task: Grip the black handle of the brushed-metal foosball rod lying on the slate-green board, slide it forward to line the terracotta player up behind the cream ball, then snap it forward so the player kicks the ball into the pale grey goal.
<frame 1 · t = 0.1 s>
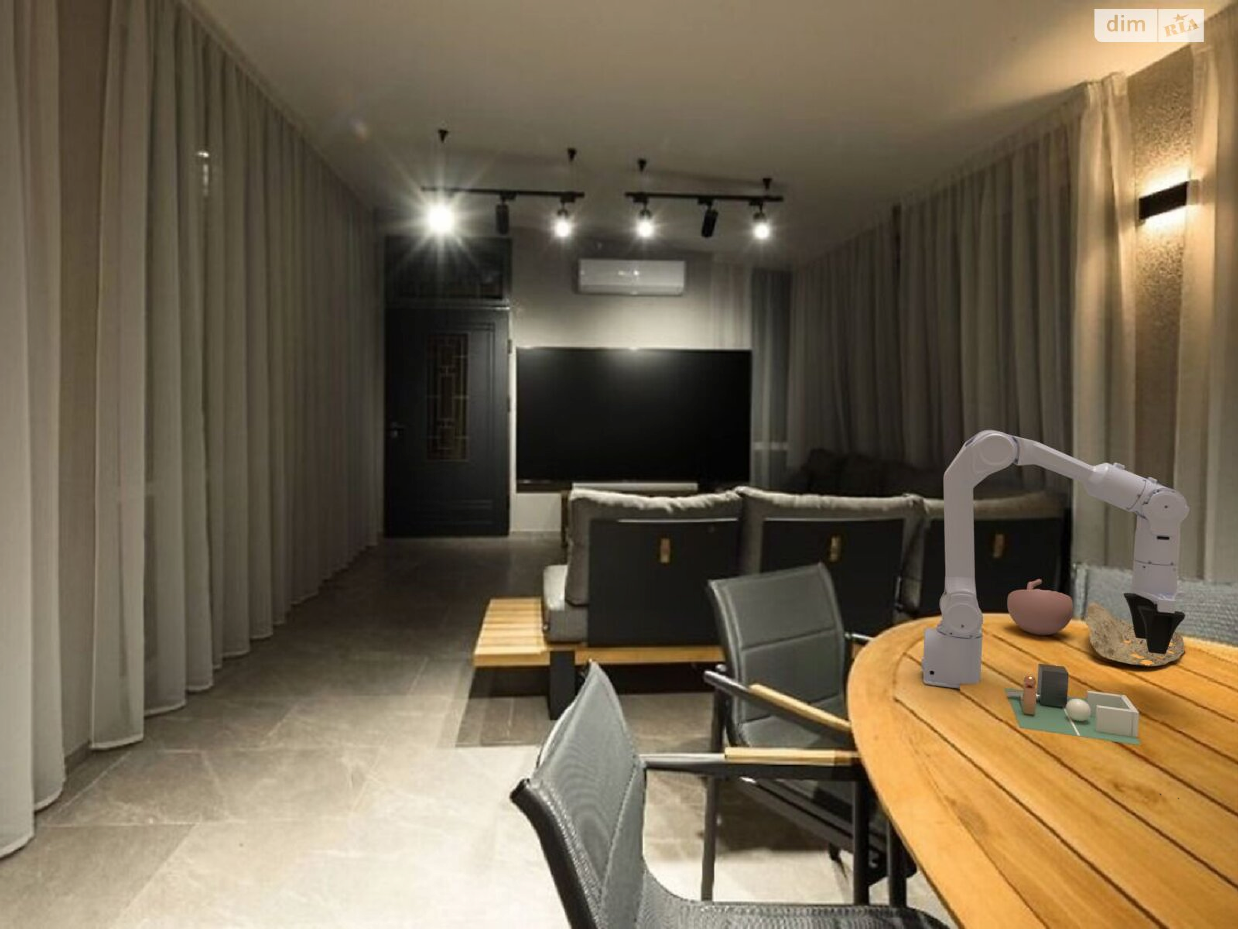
hand: (1149, 645, 115), 10 cm above the table, fingers open, 7 cm apart
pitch: (1066, 720, 110), on the table
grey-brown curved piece: (1132, 651, 143), on the table
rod: (1041, 688, 112), point 4 cm above the table, slide at 0.0 cm
goal: (1112, 725, 107), resting on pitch
ball: (1078, 710, 108), point 3 cm above the table, touching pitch
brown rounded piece: (1038, 634, 153), on the table
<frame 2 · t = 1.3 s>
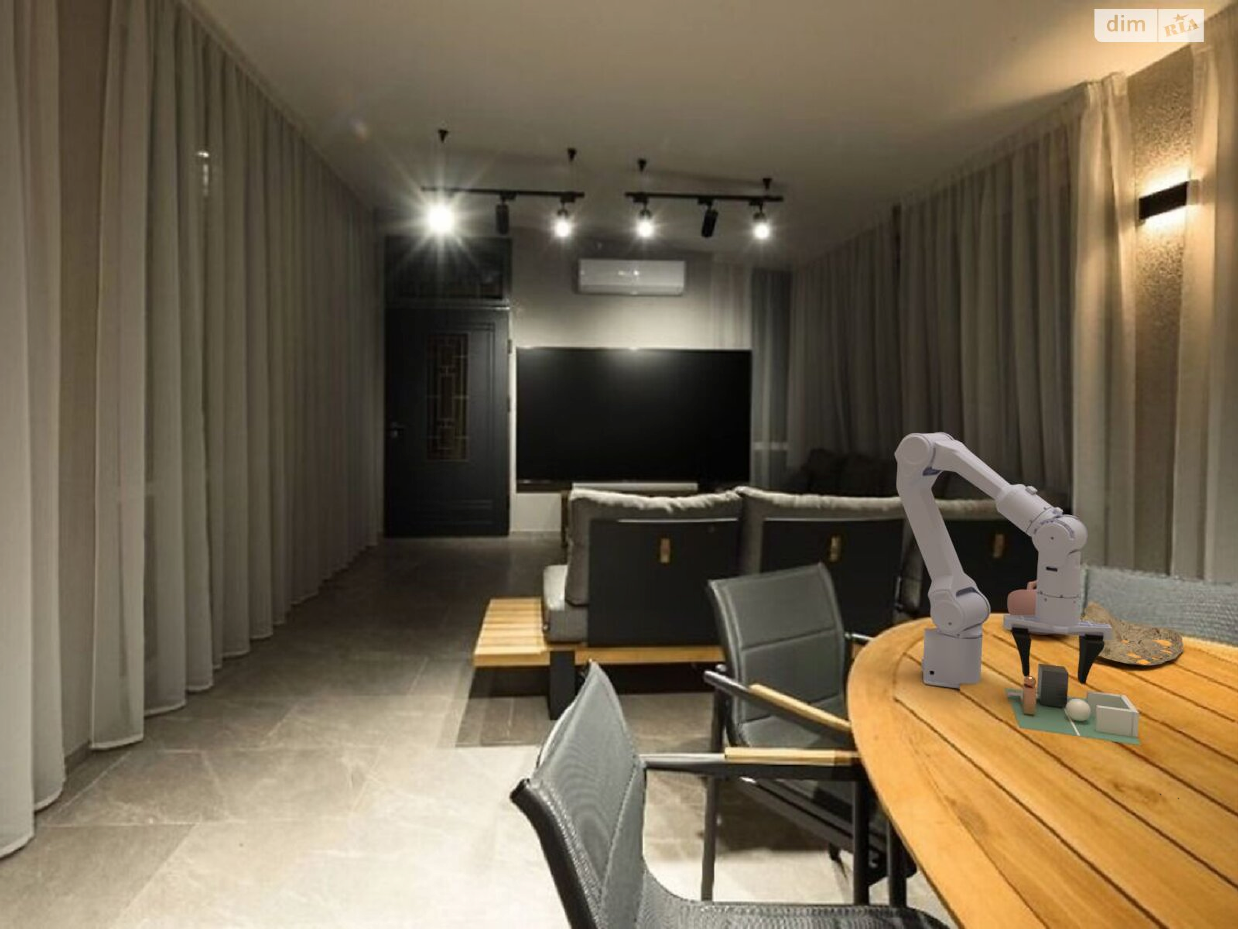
hand: (1053, 678, 114), 5 cm above the table, fingers open, 7 cm apart
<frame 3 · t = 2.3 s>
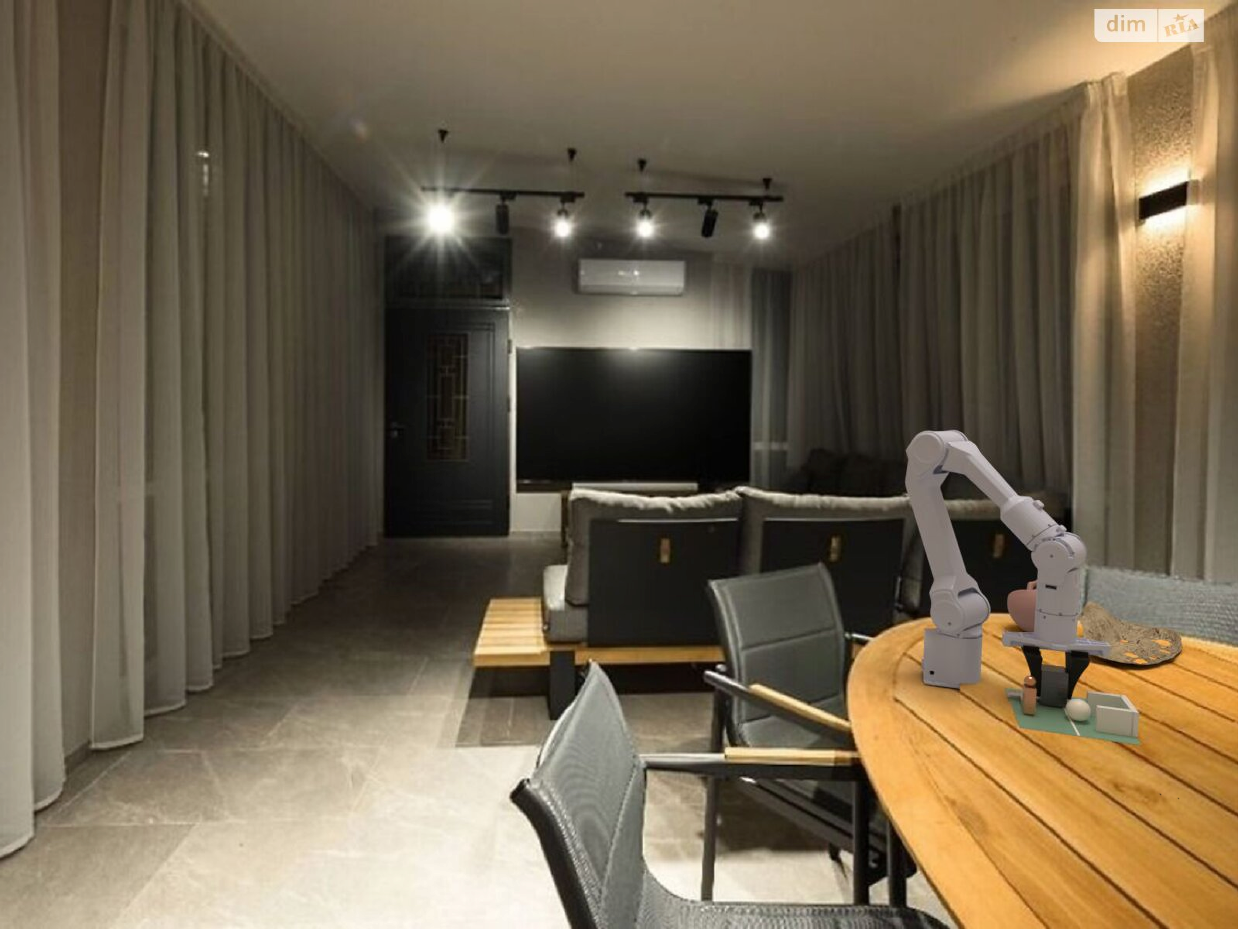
hand: (1051, 695, 114), 2 cm above the table, fingers closed on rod, 4 cm apart
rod: (1041, 688, 112), point 4 cm above the table, slide at 0.0 cm, touching gripper
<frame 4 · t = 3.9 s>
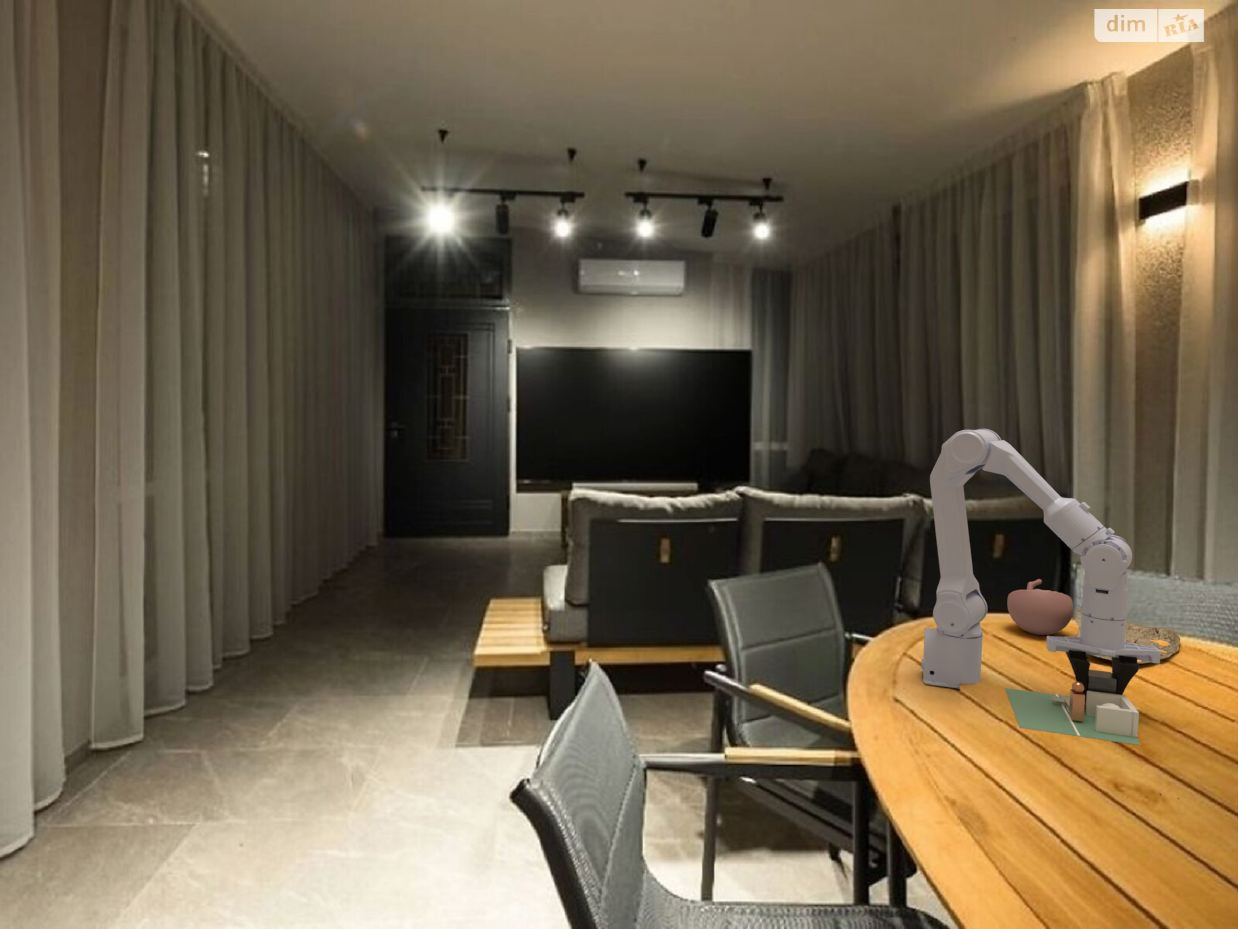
hand: (1098, 701, 112), 2 cm above the table, fingers closed on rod, 4 cm apart
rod: (1089, 694, 110), point 4 cm above the table, slide at 6.3 cm, touching gripper
ball: (1111, 714, 107), point 3 cm above the table, tilted 145°, touching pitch
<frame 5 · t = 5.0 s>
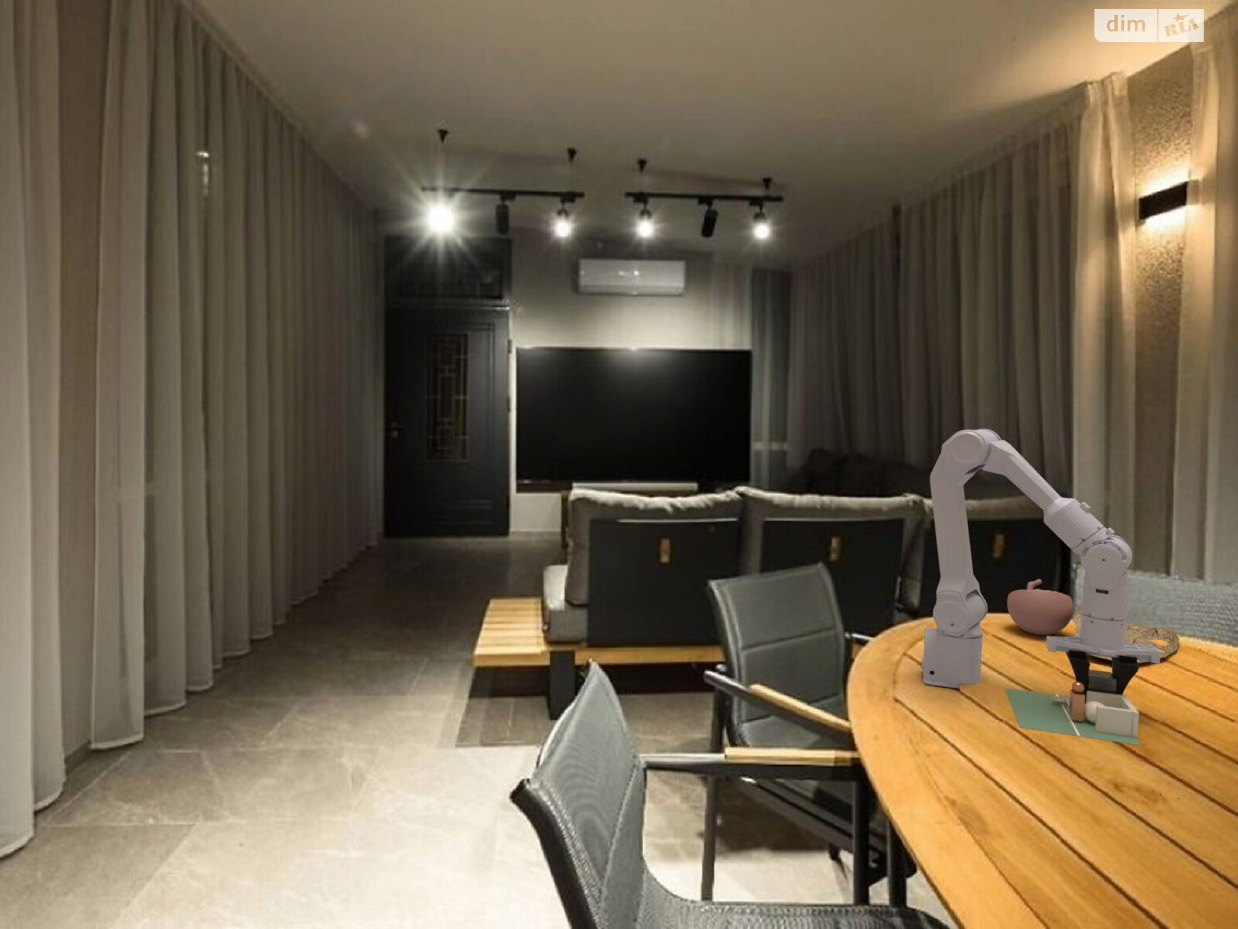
hand: (1098, 701, 112), 2 cm above the table, fingers closed on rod, 4 cm apart
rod: (1089, 694, 110), point 4 cm above the table, slide at 6.3 cm, touching gripper
ball: (1095, 712, 107), point 3 cm above the table, tilted 74°, touching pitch
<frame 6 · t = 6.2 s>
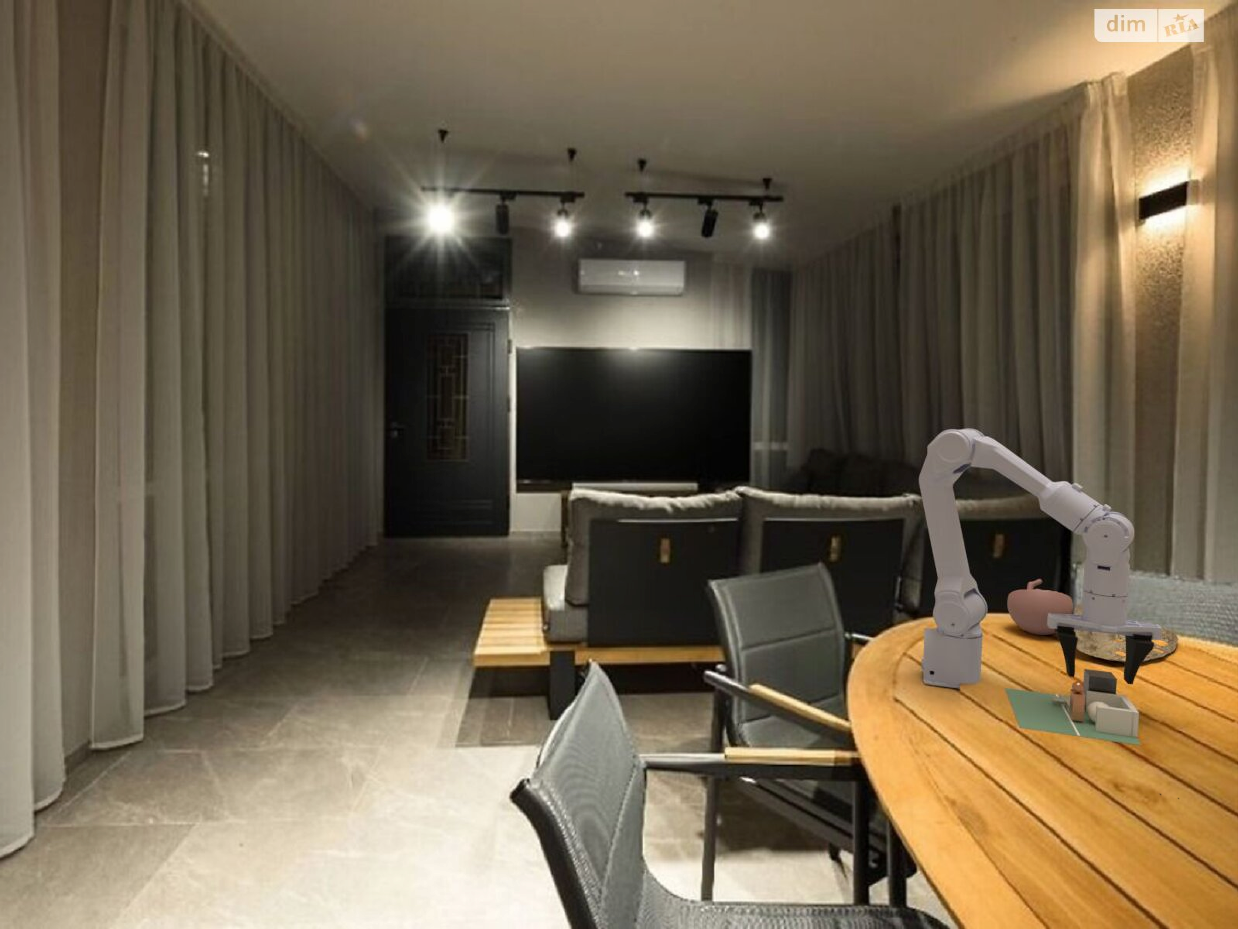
hand: (1098, 678, 112), 6 cm above the table, fingers open, 7 cm apart
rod: (1089, 694, 110), point 4 cm above the table, slide at 6.3 cm
ball: (1099, 713, 107), point 3 cm above the table, tilted 93°, touching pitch
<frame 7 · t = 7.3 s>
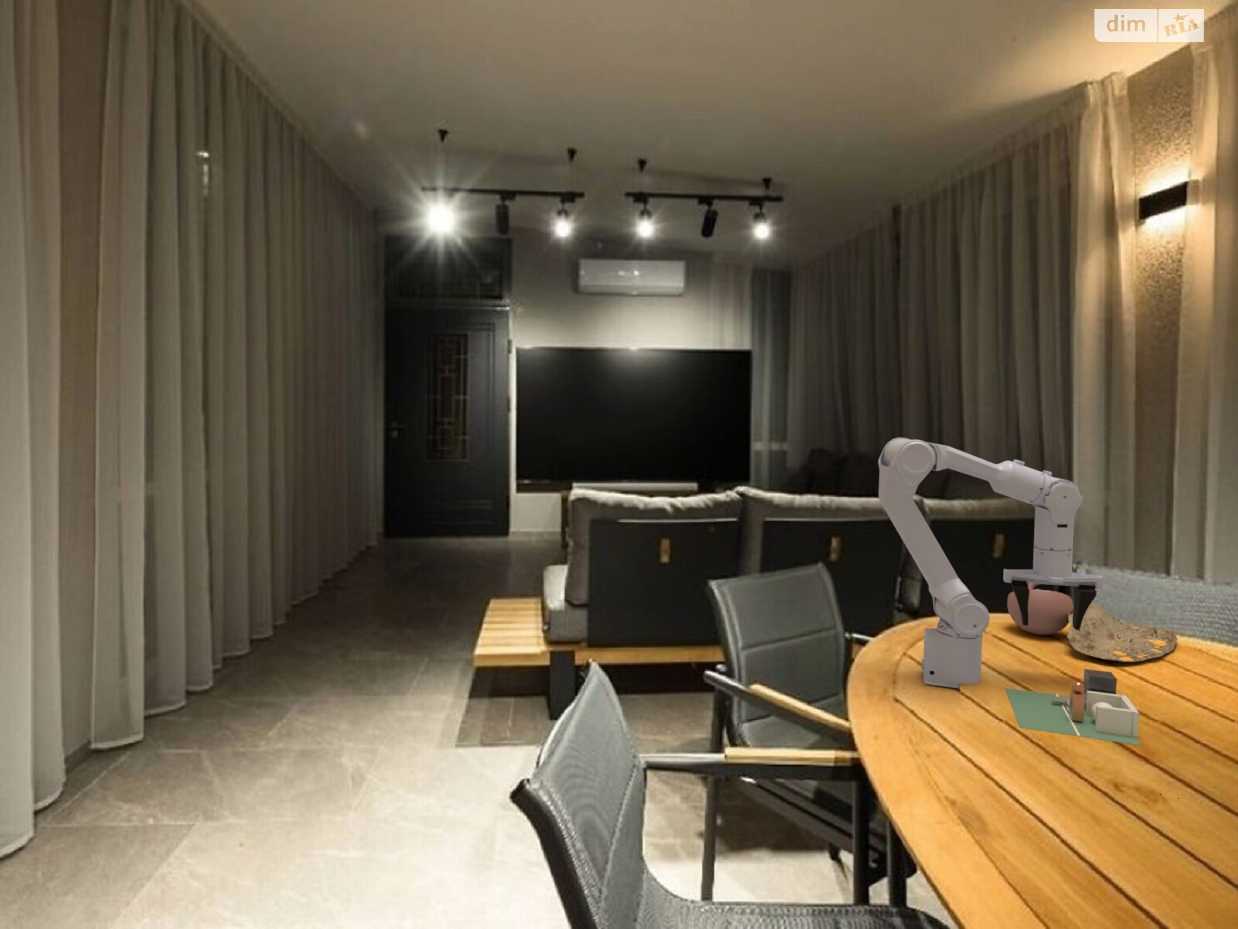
hand: (1050, 626, 124), 10 cm above the table, fingers open, 7 cm apart
ball: (1103, 713, 107), point 3 cm above the table, tilted 111°, touching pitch
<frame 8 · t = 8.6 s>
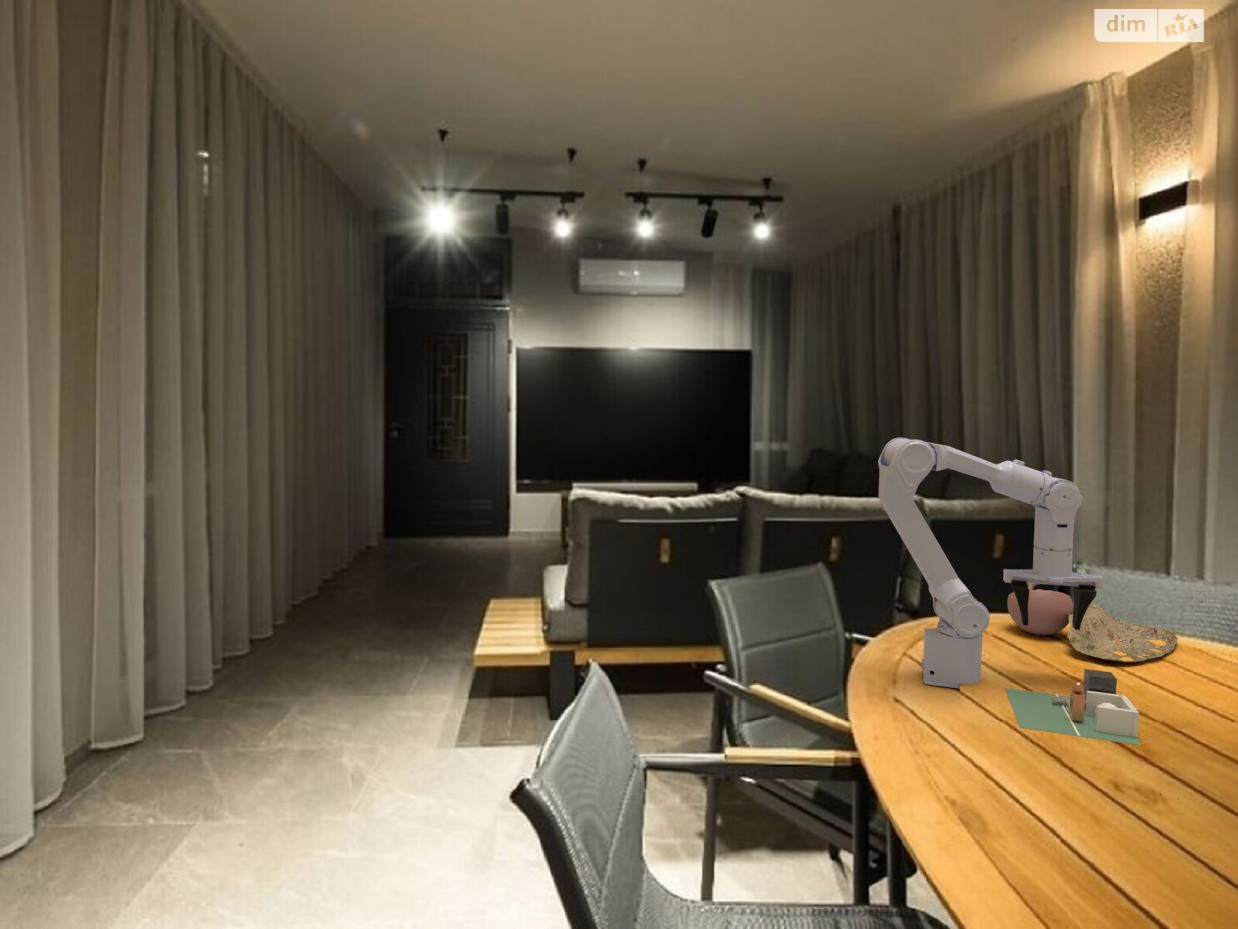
hand: (1050, 626, 124), 10 cm above the table, fingers open, 7 cm apart
ball: (1108, 714, 107), point 3 cm above the table, tilted 132°, touching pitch
at the end: ball 0.4 cm from the target spot, point 2.6 cm above the table; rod slide at 6.3 cm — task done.
